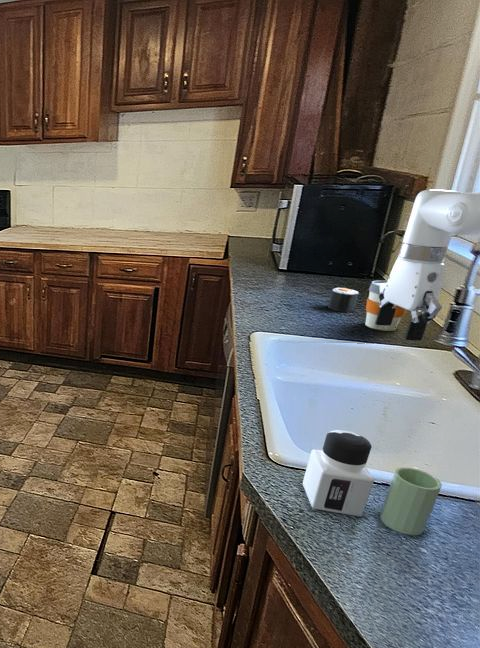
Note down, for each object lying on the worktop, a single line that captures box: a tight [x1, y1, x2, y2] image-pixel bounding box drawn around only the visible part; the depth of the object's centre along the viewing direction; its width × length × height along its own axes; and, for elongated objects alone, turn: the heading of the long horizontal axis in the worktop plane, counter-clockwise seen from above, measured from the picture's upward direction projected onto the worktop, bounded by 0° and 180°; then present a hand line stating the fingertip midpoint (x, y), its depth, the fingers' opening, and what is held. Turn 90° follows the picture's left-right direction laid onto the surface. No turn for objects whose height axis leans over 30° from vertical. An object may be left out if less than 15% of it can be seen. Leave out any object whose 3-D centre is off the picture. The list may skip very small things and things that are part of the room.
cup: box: [379, 467, 443, 536], centre depth 86 cm, size 6×6×9 cm
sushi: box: [327, 286, 360, 313], centre depth 203 cm, size 8×8×8 cm
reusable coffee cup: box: [364, 280, 408, 332], centre depth 182 cm, size 13×13×15 cm
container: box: [302, 429, 375, 518], centre depth 91 cm, size 8×8×13 cm
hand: (397, 332), depth 114 cm, fingers open, 9 cm apart
